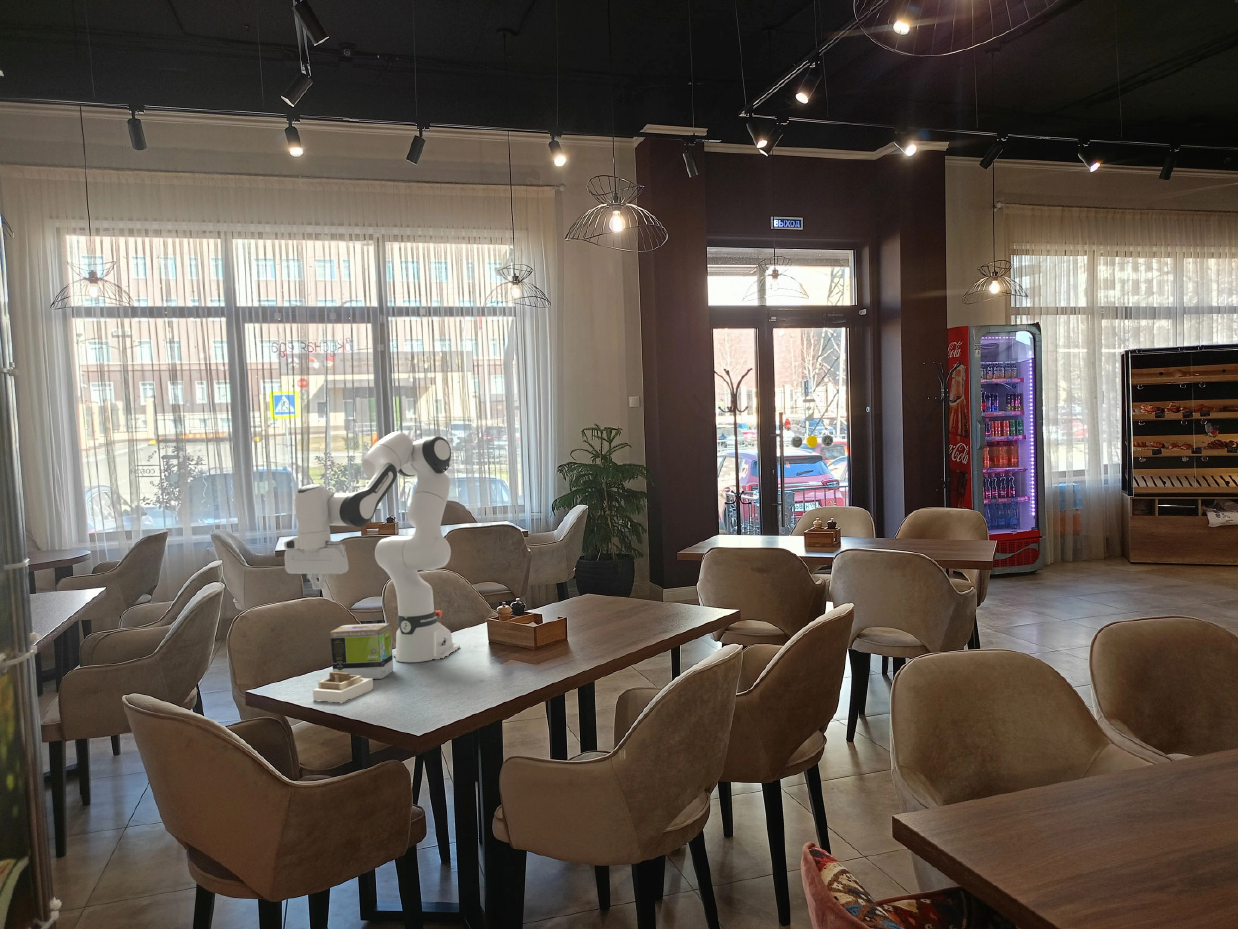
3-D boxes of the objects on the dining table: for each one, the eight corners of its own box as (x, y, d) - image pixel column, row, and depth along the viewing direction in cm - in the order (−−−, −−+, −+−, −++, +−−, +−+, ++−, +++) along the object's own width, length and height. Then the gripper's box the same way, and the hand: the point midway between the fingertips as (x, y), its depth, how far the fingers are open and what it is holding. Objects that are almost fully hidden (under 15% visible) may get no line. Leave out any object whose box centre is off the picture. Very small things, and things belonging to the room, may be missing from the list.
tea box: (394, 670, 261) (391, 622, 261) (381, 680, 251) (378, 629, 251) (346, 672, 262) (343, 623, 262) (332, 681, 252) (329, 631, 252)
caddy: (339, 690, 242) (337, 668, 242) (362, 691, 239) (360, 669, 239) (319, 698, 235) (317, 676, 235) (342, 700, 232) (341, 677, 232)
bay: (345, 687, 245) (345, 676, 245) (373, 689, 241) (372, 678, 241) (313, 701, 233) (312, 690, 233) (341, 703, 229) (341, 692, 229)
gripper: (351, 539, 247) (355, 587, 248) (294, 539, 254) (298, 586, 255) (336, 542, 241) (340, 591, 242) (279, 543, 249) (283, 590, 249)
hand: (318, 588), depth 248 cm, fingers closed
